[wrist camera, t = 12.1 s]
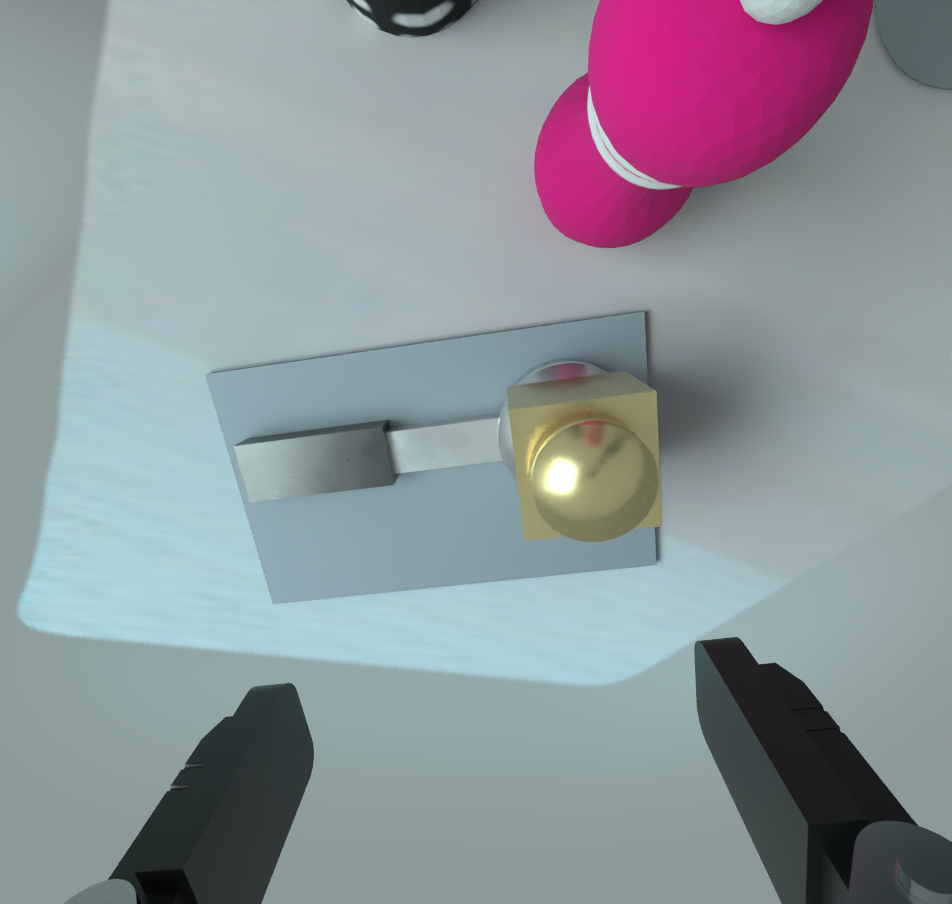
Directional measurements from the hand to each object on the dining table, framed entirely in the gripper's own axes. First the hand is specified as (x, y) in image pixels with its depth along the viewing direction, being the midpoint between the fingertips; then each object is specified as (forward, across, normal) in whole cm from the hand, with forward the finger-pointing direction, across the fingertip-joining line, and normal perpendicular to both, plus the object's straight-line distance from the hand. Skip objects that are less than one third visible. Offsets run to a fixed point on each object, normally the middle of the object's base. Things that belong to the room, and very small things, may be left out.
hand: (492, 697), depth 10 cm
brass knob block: (+20, -4, 0) cm, 20 cm away
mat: (+22, +4, +2) cm, 23 cm away
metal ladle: (+22, +4, 0) cm, 22 cm away
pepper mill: (+22, -7, -12) cm, 27 cm away
